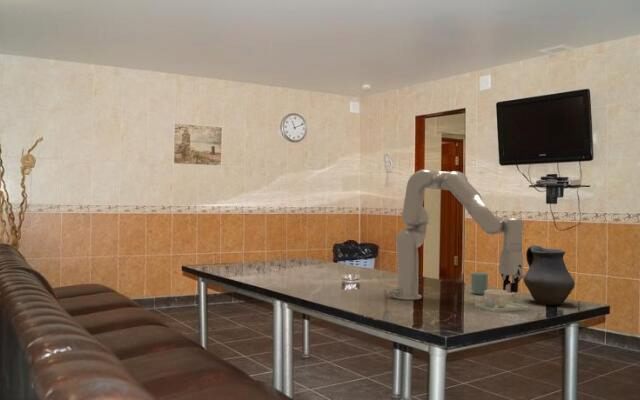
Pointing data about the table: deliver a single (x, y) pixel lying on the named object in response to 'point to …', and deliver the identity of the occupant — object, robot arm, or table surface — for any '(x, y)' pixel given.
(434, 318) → the table surface
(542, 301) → the pitcher
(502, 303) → the pebble
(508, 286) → the pebble
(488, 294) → the bowl
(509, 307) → the tray
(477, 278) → the cup
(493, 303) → the pebble
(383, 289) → the table surface
